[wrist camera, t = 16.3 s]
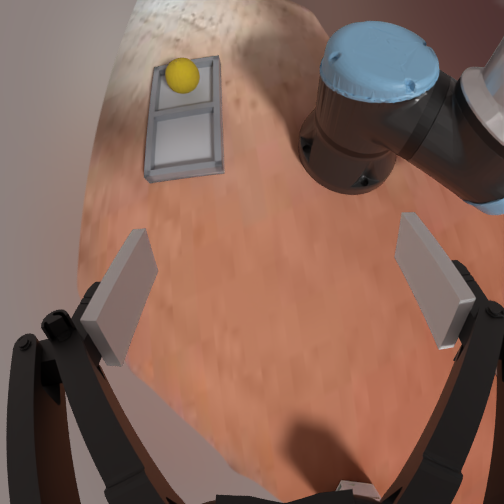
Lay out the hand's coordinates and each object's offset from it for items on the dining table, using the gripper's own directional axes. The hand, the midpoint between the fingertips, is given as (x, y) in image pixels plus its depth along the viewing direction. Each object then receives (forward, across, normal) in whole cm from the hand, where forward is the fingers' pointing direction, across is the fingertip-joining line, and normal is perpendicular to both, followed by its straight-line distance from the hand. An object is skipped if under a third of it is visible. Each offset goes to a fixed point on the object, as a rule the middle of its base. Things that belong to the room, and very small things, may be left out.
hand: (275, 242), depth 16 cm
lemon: (+44, -13, +5) cm, 46 cm away
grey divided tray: (+40, -13, 0) cm, 42 cm away
